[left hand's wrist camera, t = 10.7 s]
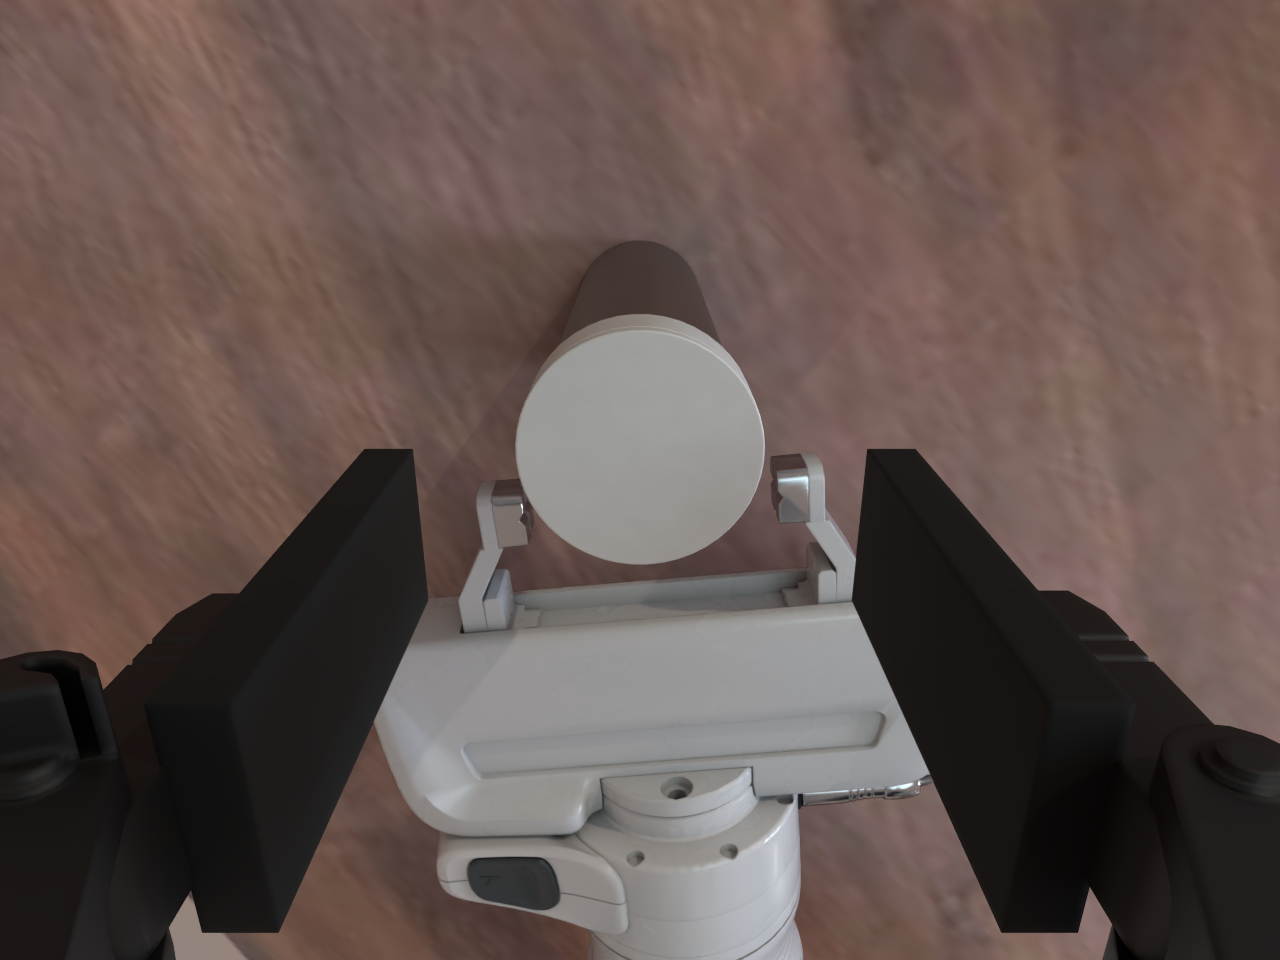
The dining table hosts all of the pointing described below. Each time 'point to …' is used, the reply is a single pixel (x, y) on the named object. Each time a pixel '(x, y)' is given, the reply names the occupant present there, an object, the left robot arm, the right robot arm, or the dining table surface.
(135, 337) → the dining table surface
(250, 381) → the dining table surface
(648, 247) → the jar
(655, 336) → the lid
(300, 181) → the dining table surface
